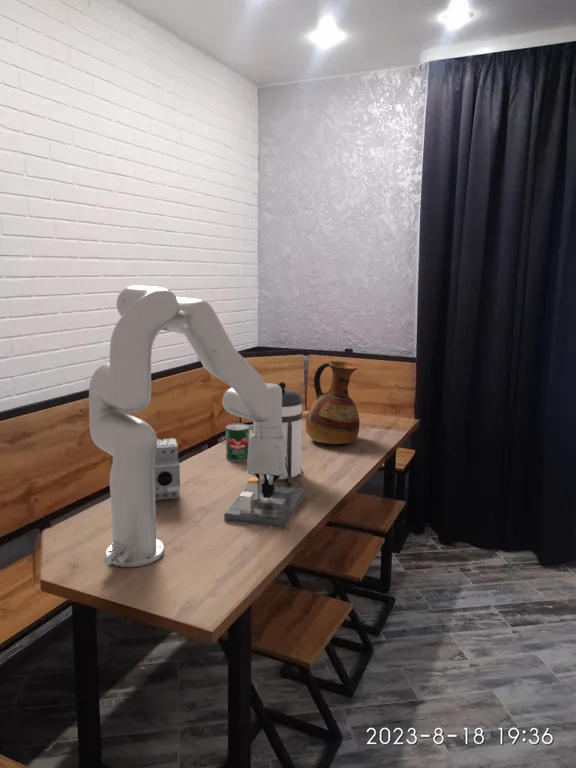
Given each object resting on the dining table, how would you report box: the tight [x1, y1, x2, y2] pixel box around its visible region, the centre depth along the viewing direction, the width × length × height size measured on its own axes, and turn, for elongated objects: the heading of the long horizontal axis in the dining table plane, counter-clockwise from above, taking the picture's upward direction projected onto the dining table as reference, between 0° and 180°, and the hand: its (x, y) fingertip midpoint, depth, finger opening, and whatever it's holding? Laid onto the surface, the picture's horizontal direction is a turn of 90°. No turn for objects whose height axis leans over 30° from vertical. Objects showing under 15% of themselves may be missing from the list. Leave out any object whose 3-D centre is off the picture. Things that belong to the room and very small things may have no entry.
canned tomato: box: [225, 422, 250, 463], centre depth 196 cm, size 8×8×11 cm
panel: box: [223, 475, 306, 529], centre depth 157 cm, size 22×16×7 cm
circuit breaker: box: [154, 437, 181, 501], centre depth 162 cm, size 8×14×15 cm, turn 15°
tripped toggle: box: [246, 476, 261, 500], centre depth 158 cm, size 3×3×5 cm
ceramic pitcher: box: [304, 360, 361, 445], centre depth 214 cm, size 20×20×30 cm
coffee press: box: [278, 381, 304, 487], centre depth 175 cm, size 17×16×30 cm
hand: (267, 496), depth 157 cm, fingers closed
